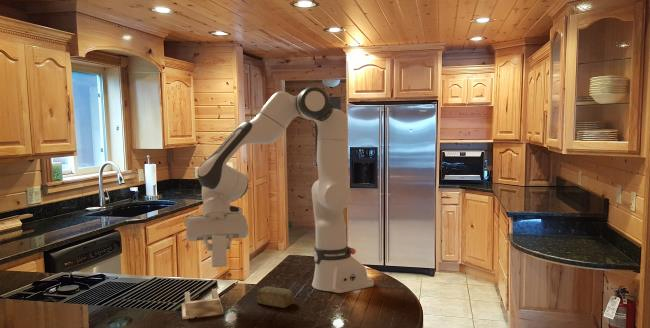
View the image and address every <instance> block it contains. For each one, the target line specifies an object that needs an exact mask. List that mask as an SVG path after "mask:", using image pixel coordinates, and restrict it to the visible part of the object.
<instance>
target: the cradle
mask: <svg viewBox="0 0 650 328" xmlns="http://www.w3.org/2000/svg"><path fill="white" fill-rule="evenodd" d="M218 315H219V316H220V315H224V308H223V305H222V302H221V298H220V297H219V293H218V290H217V288H211V298H207V299H200V300H199V299H198V300H193V301H192V300H191V293H190V291H185V292H184V302H182V303H181V316H182V320H189V318H190V319H194V318H195V317H197V318H204V317H211V316H218ZM195 319H196V318H195Z"/></svg>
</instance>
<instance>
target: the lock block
mask: <svg viewBox="0 0 650 328" xmlns="http://www.w3.org/2000/svg"><path fill="white" fill-rule="evenodd" d="M226 242H227V239H226V234H225V233H222V234H211V240H210V244H211V243H212V251H210V253H211V254H210V260H211V263H210V264H211V267H212V268H220V267H221V268H222V267H227V262H228V261H227V259H228V258H227V251H228V249H227V244H226Z"/></svg>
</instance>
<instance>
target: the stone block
mask: <svg viewBox="0 0 650 328" xmlns="http://www.w3.org/2000/svg"><path fill="white" fill-rule="evenodd" d="M256 296H257V297H256V303H258V304H260V305H264V306H268V307H276V308H280V309H281V308H282V309H283V308H284V309H285V308H287V307H289V306H291V305H293V304H294V302H295V299H294V298H295V296H294V291H292V289H290V288H289V289H288V288H285V287H284V288H282V287H276V286H271V285H267V286H264V287H261V288H259V289H257V295H256Z"/></svg>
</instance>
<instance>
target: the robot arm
mask: <svg viewBox="0 0 650 328" xmlns="http://www.w3.org/2000/svg"><path fill="white" fill-rule="evenodd" d="M295 118H298V119H300V120H305V121H314V122H315V124H316V126H317V140H316V141H317V142H316V143H317V145H316V165H317V172H318V173H317V174H318V179H317V180H316V181H315V182H314V183H313V184H312V187H311V198H312V199H311V200H312V207H313V217H314V224H315V246H314V253H313V255H314V257H313V258H314V263H315V267H314V273H313V279H312V283H311V287H312V288H314V289H315V290H319V291H323V292H332V293H337V294H343V293H348V292H351V291H356V290H361V289H366V288H371V287H374V286H375V284H374V283H375V282H374V280H373V279H372V277H370V276H368V273H367V269H366V267H365V265H364V264H362V263H361V262H360V261H359V260H357V259H356V258H355V257H354V256H352V255H356V253H357V251H356V250H357V249H355V248H353V247H350V246H348V245H347V224H346V220H345V217H344V216H345V215H344V211H343V210H345V209H346V208H347V207H349V205H350V203H351V201H352V191H351V187H350V177H349V175H350V174H349V170H348V166H349V165H348V153H349V151H348V149H349V125H348V119H347V114H346V113H345V112H344V111H342V110H341V109H339V108H334V105H333V104H332V102H331V99H330V97H329V95H328V93H327V92H326V91H325V90H324V89H323V88H321V87H319V86H308V87H306V88H304V89H303V90H301V91H300V93H298V94H297V95H292V94H291V93H289V92H287V91H284V90H283V91H276V92H275V93H274V94H273V95H271V96H270V98H269V99H268V100H266V103H264V105H263V106H262V108H260V110H259V112H258V113H257V115H256V116H254V117H253V118H252V119H251V120H250V121H244V122H241V124H240V125H238V126H237V127H236V128H235V129H234V130H233V131H232V132H231V134H229V135H228V136H227V138H226V139H225V140H224V141H223V142H222V144H220V145H219V147H218V148H217V149H216V150H215V151H214V152H213V154H211V155H210V156H209V157H208V158H206V160H204V161H203V162H202V163H201V164H200V166H199V167H198V170H197V177H198V182H199V184H200V186H201V201H202V207H201V208H202V214H198V215H197V214H196V215H194V214H193V215H189V216H188V217H186V218H184V226H185V229H186V230H185V231H186V232H185V239H186V241H188V242H200V241H201V242H202V244H204V246H205V247H206V251H207V252H209V251H210V252H211V251H212V243H211V242H210V243H209V241H211V234H222V233H225V234H226V240H228V242H227V241H226V244H227V250H231V244H232V243H233V241H234V240H233V239H244V238H245V239H246V238H247V236H249V235H248V234H249V225H248V221H247V219H246V216H245V215H244V214H243V208H242V207H241V206H235V205H231V204H229V203H233V202H235V201H237V200H238V199H240V198H242V197H243V196H244V195H246V193H248V192H247V191H248V188H249V178H248V176H247V175H246V174H244V173H243V172H240V171H239V170H237V169H236V168H233V167H231V166H230V165H228V164H227V163H228V162H229V161H230V160H231V158H233V157H234V155H235V154H236V153H237V152H238V151H239V149H241V147H242V146H245V145H247V144H259V145H270V144H274V143H277V142H278V140H280V139H281V137H282V136H283V135H284V133H285V131H286V130H287V128H288V127H289V125H290V124H291V122H292V121H293V120H294V119H295Z"/></svg>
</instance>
